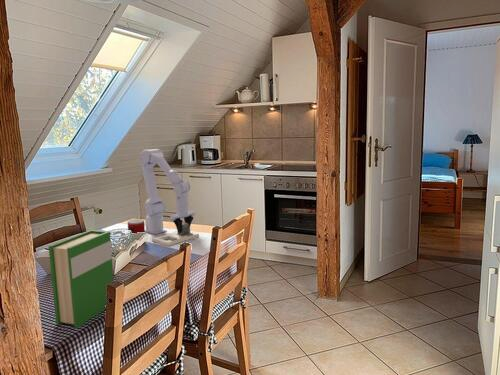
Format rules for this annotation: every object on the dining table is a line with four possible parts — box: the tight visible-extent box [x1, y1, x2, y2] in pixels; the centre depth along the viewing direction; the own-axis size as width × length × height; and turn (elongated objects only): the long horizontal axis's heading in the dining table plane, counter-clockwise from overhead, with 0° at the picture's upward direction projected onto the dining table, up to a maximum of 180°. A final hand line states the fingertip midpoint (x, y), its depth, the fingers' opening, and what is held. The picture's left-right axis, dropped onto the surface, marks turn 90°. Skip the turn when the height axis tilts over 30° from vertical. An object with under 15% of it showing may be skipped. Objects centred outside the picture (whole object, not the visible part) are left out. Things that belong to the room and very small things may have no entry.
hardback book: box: [48, 229, 114, 329], centre depth 124 cm, size 18×7×24 cm, turn 162°
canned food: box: [127, 218, 146, 233], centre depth 197 cm, size 8×8×11 cm
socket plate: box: [151, 230, 200, 247], centre depth 203 cm, size 12×20×2 cm, turn 139°
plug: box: [178, 221, 191, 236], centre depth 206 cm, size 4×4×6 cm
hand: (183, 231), depth 206 cm, fingers closed on plug, 5 cm apart
